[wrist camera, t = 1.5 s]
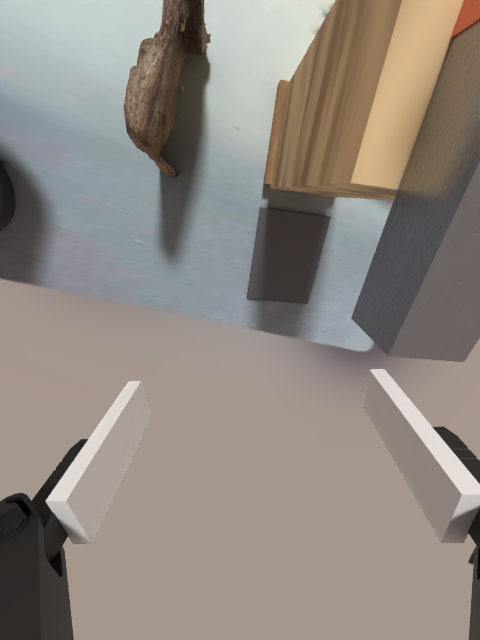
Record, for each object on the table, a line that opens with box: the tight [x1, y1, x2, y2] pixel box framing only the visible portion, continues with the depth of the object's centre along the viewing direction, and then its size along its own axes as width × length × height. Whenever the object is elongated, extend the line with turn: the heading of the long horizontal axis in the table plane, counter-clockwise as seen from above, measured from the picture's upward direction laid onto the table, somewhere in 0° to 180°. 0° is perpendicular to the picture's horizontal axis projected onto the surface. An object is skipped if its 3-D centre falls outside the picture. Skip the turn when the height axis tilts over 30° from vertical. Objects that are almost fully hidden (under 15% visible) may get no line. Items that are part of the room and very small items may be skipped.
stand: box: [264, 0, 464, 200], centre depth 25 cm, size 12×12×30 cm
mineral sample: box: [124, 0, 210, 178], centre depth 29 cm, size 17×4×15 cm, turn 158°
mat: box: [247, 208, 331, 304], centre depth 45 cm, size 12×16×1 cm
